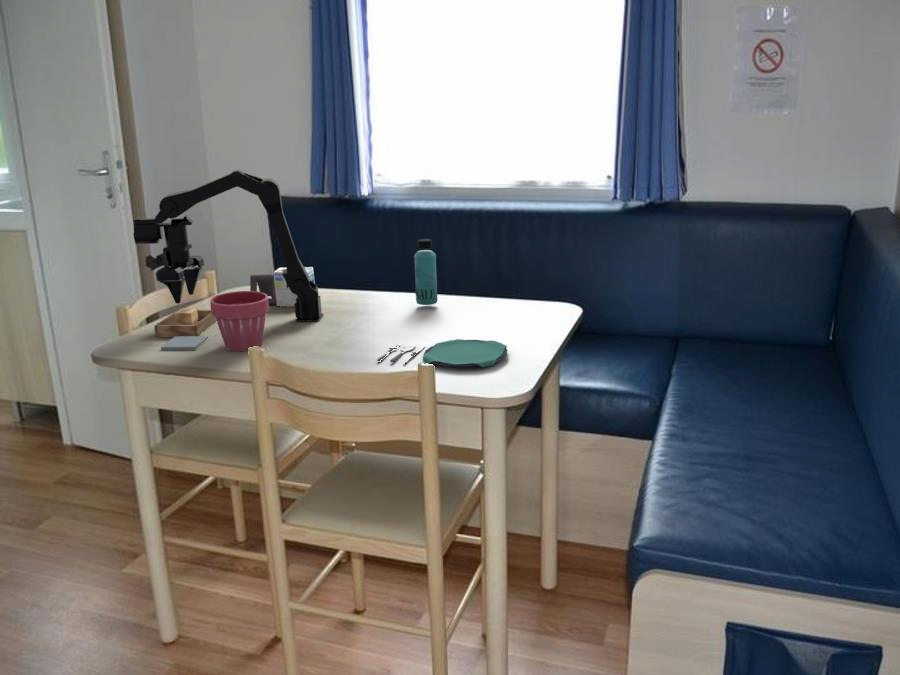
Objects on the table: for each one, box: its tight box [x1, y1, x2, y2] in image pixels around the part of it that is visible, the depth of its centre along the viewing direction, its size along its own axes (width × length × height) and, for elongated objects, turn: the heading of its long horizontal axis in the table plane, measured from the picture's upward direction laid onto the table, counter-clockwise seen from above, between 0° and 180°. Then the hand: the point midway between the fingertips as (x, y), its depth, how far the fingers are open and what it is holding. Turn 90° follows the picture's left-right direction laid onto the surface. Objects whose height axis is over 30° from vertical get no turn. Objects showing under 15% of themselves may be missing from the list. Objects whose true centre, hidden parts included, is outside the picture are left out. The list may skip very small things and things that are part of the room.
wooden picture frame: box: [154, 309, 217, 338], centre depth 225 cm, size 12×16×3 cm
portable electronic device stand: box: [249, 273, 277, 306], centre depth 248 cm, size 9×8×8 cm
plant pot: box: [209, 290, 270, 352], centre depth 207 cm, size 14×14×13 cm
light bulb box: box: [273, 266, 316, 308], centre depth 245 cm, size 11×7×11 cm, turn 84°
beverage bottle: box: [413, 238, 438, 306], centre depth 236 cm, size 6×7×20 cm
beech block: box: [175, 308, 199, 325], centre depth 225 cm, size 4×4×5 cm
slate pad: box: [160, 335, 209, 351], centre depth 211 cm, size 9×9×1 cm
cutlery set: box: [376, 338, 508, 368], centre depth 196 cm, size 20×30×2 cm, turn 73°
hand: (184, 298), depth 223 cm, fingers open, 9 cm apart
